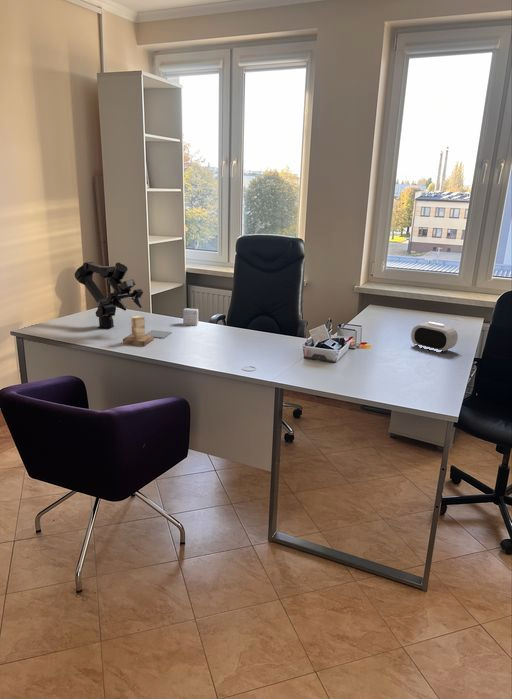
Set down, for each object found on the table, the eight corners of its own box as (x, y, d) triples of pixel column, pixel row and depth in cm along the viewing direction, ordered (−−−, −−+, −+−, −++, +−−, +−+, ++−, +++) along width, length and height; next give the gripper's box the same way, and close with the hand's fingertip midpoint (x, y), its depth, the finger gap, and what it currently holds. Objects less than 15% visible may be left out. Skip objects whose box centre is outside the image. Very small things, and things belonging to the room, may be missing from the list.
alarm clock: (408, 346, 261) (412, 321, 257) (417, 342, 268) (420, 318, 264) (447, 355, 248) (452, 329, 244) (455, 351, 255) (459, 326, 251)
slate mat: (143, 336, 256) (143, 335, 256) (152, 331, 266) (152, 330, 266) (164, 338, 254) (164, 337, 254) (171, 333, 264) (171, 332, 264)
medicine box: (198, 323, 285) (198, 308, 282) (196, 325, 280) (196, 310, 278) (184, 323, 285) (184, 308, 283) (182, 324, 281) (182, 309, 278)
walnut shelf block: (123, 344, 243) (122, 339, 242) (132, 337, 253) (132, 333, 252) (144, 346, 241) (144, 341, 240) (153, 340, 251) (153, 335, 250)
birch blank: (131, 336, 246) (131, 316, 243) (139, 335, 249) (139, 315, 246) (136, 338, 243) (136, 318, 240) (144, 337, 246) (144, 317, 243)
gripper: (107, 276, 243) (123, 300, 238) (139, 273, 256) (154, 295, 251) (100, 292, 249) (115, 315, 245) (131, 288, 263) (146, 310, 258)
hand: (133, 308), depth 250 cm, fingers open, 9 cm apart
